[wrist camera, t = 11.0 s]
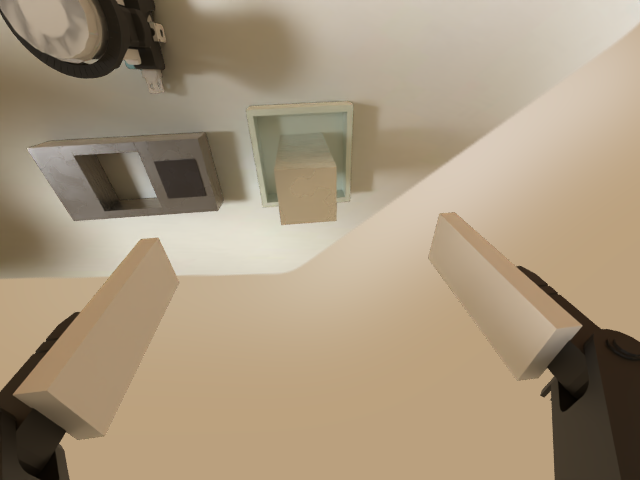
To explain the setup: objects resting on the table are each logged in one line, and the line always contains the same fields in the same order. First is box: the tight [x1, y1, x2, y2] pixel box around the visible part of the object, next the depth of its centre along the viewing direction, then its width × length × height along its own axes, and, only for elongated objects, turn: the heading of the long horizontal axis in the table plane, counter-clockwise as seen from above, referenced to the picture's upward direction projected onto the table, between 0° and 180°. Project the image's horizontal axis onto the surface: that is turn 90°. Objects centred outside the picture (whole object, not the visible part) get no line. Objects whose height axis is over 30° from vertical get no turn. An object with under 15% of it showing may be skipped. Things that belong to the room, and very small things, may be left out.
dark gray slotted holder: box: [26, 132, 224, 221], centre depth 25 cm, size 14×7×3 cm, turn 92°
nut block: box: [274, 133, 337, 225], centre depth 22 cm, size 4×4×10 cm
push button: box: [0, 0, 166, 94], centre depth 16 cm, size 7×5×10 cm
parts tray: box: [246, 101, 353, 207], centre depth 25 cm, size 9×9×2 cm
